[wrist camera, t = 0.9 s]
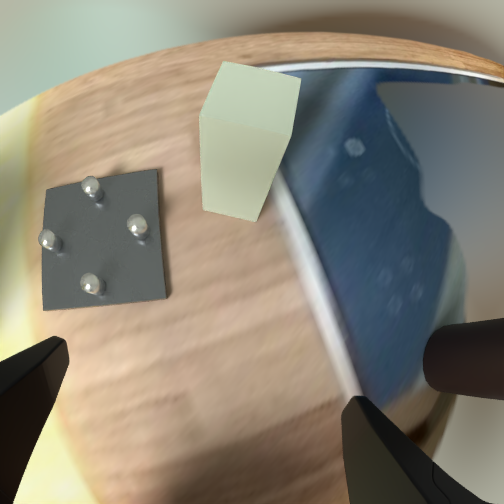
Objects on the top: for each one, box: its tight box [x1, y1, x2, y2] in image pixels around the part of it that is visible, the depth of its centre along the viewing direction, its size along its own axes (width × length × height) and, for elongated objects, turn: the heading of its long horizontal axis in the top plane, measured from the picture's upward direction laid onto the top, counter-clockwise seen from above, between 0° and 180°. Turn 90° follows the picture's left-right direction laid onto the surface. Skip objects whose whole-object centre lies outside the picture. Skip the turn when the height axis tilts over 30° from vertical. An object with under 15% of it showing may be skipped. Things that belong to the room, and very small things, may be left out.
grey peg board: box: [38, 169, 167, 311], centre depth 22 cm, size 11×11×3 cm
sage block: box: [199, 61, 301, 222], centre depth 20 cm, size 4×4×12 cm
